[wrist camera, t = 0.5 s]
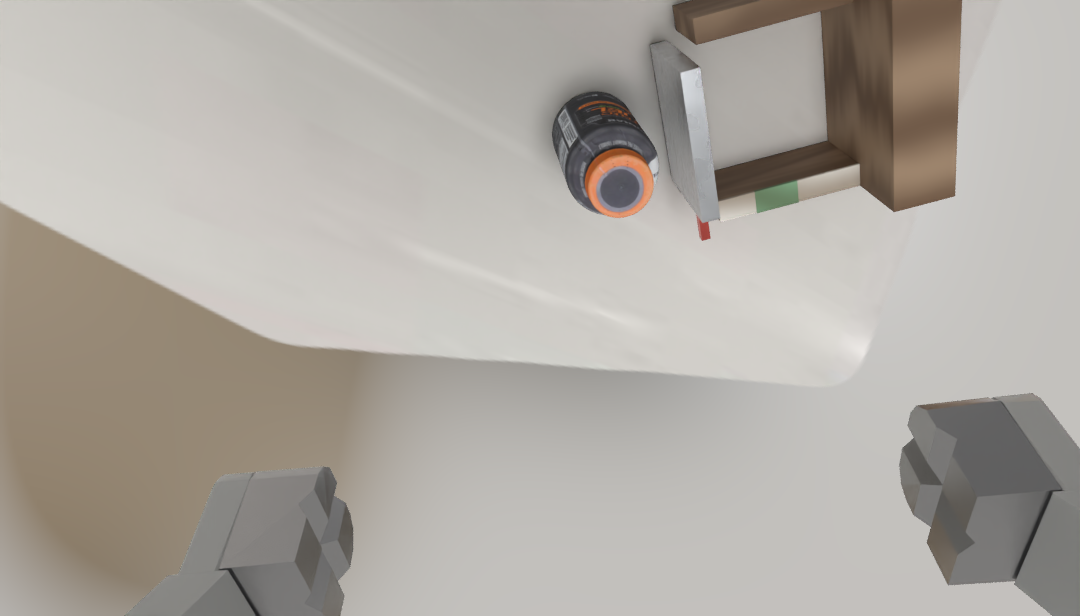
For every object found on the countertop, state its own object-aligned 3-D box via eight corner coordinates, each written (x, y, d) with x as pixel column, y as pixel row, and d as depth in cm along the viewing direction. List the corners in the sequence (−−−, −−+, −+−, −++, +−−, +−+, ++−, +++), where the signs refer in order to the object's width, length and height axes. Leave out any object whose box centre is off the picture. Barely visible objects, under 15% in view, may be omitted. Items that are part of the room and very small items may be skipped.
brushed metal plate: (650, 45, 53) (680, 72, 46) (667, 40, 53) (700, 67, 46) (677, 210, 59) (707, 256, 53) (692, 205, 59) (724, 251, 53)
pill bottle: (645, 104, 56) (687, 156, 46) (615, 180, 58) (648, 245, 49) (567, 79, 54) (593, 127, 44) (539, 158, 57) (558, 220, 47)
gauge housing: (672, 5, 53) (716, 34, 44) (877, -51, 52) (963, -33, 43) (700, 195, 60) (742, 252, 51) (880, 147, 59) (954, 196, 51)
